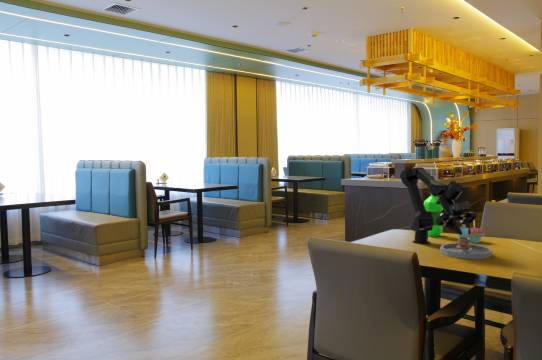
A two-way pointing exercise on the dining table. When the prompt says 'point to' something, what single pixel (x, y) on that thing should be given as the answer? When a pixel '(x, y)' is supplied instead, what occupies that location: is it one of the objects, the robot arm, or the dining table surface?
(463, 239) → the bead stack
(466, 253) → the groove tray
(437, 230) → the plastic bottle
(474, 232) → the cupcake
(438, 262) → the dining table surface
